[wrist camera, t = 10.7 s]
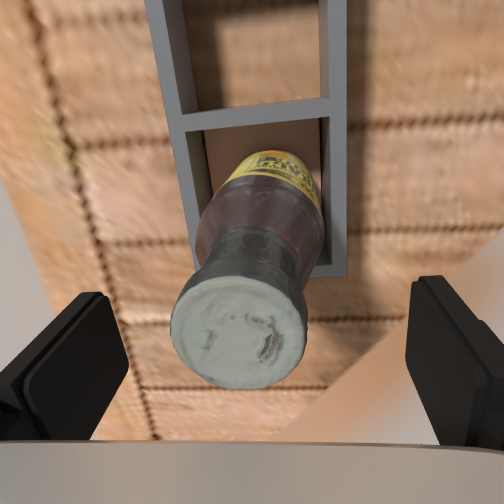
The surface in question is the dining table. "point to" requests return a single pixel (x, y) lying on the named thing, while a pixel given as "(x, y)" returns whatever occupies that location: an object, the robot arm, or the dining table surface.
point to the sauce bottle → (251, 275)
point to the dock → (258, 127)
